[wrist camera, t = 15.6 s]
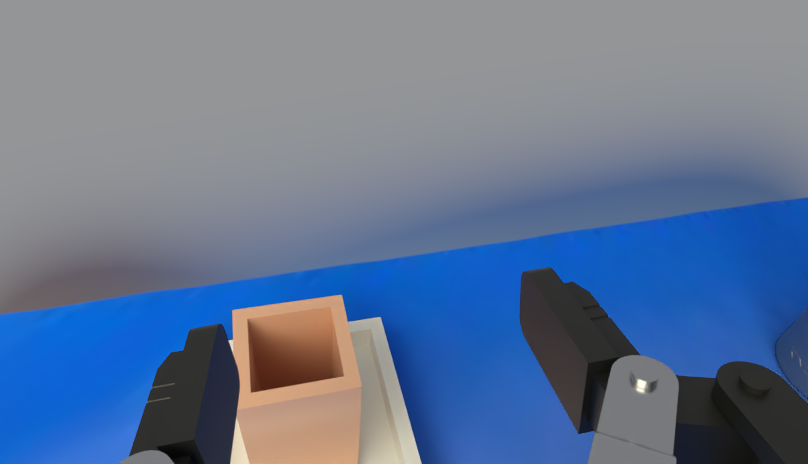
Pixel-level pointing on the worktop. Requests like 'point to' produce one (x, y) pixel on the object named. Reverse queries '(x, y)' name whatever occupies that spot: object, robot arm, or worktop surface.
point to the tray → (370, 402)
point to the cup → (297, 383)
